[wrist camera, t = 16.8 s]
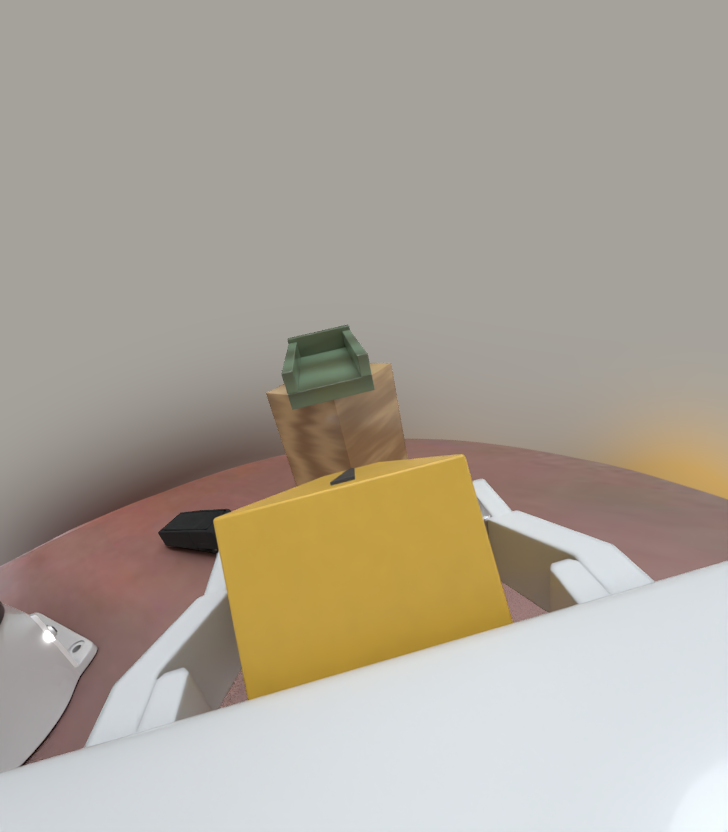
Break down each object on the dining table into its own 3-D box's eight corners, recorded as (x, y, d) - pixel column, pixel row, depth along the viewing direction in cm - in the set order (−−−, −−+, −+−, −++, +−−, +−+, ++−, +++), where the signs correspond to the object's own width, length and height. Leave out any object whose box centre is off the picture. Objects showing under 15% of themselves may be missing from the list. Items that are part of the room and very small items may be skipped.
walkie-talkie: (192, 510, 60) (287, 510, 52) (185, 549, 58) (282, 556, 50) (158, 506, 55) (258, 506, 47) (149, 549, 53) (251, 557, 44)
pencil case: (534, 693, 6) (464, 450, 6) (260, 777, 6) (210, 514, 6) (392, 512, 28) (379, 461, 28) (335, 527, 27) (323, 475, 28)
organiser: (438, 569, 42) (401, 339, 31) (321, 601, 41) (242, 376, 31) (406, 496, 56) (372, 318, 45) (317, 519, 55) (262, 344, 44)
